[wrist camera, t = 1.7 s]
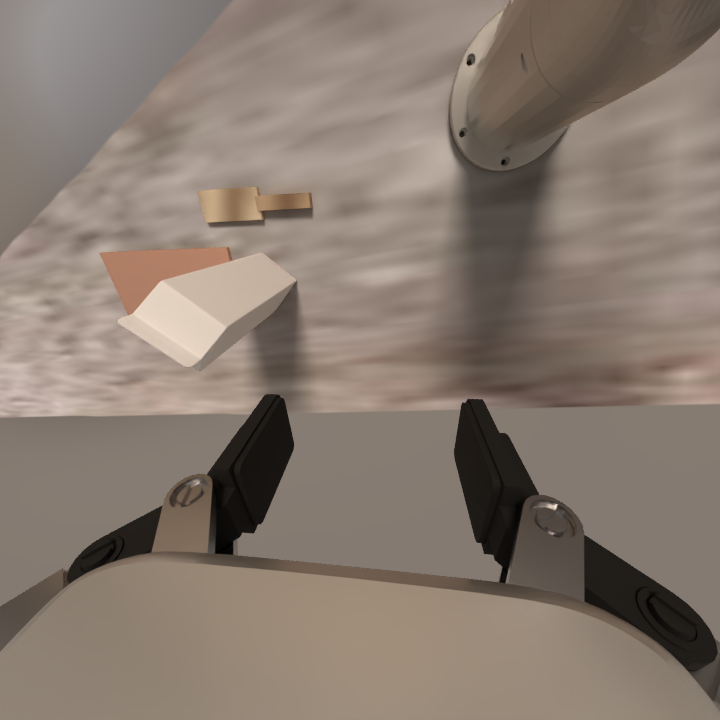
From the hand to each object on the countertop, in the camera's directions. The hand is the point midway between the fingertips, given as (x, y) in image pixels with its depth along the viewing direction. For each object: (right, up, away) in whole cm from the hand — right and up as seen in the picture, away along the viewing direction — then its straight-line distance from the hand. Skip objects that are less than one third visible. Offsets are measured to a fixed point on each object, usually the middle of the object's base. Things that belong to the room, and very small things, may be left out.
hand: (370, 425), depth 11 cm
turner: (-14, +23, +24) cm, 36 cm away
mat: (-29, +14, +30) cm, 44 cm away
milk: (-14, +14, +28) cm, 35 cm away
